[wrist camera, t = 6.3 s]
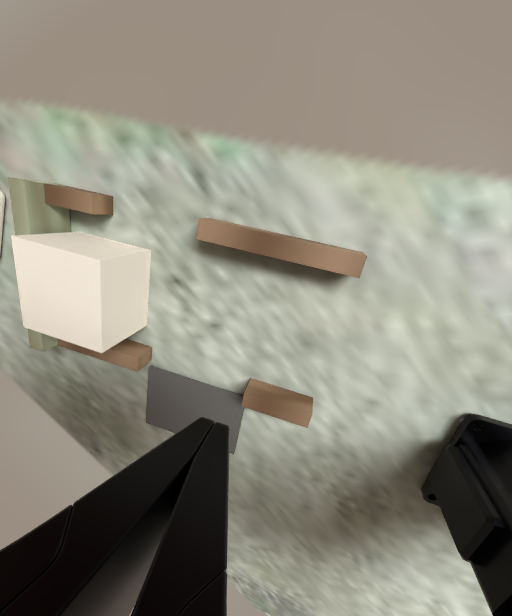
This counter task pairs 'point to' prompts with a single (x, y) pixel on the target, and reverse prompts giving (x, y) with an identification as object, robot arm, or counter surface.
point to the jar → (1, 215)
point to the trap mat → (190, 403)
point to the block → (82, 287)
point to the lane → (56, 219)
